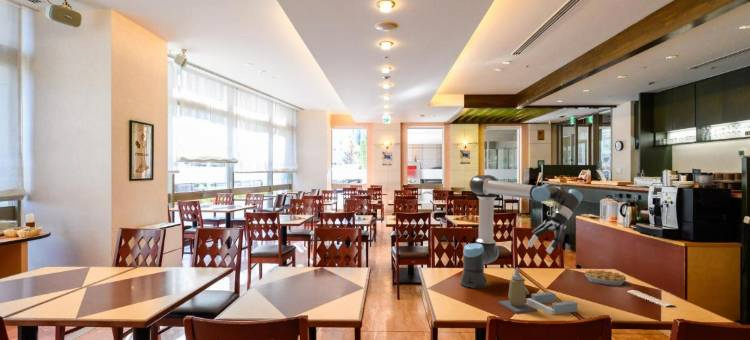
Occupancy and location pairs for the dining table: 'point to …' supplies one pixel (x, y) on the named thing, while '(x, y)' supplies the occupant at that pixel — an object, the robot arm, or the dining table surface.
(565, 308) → the grey u-shaped frame
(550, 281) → the dining table surface
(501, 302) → the rubber mat
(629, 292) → the newspaper
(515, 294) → the squeeze bottle
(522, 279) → the chocolate bunny
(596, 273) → the pie
